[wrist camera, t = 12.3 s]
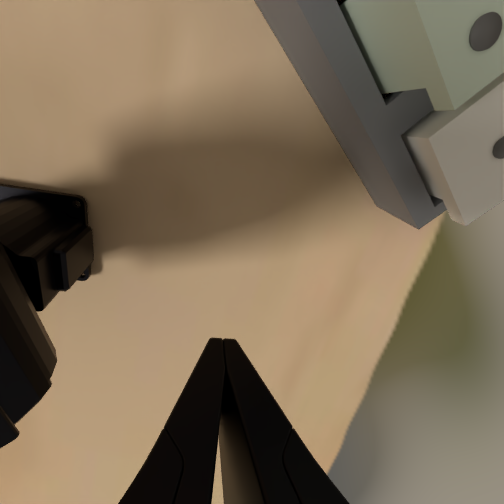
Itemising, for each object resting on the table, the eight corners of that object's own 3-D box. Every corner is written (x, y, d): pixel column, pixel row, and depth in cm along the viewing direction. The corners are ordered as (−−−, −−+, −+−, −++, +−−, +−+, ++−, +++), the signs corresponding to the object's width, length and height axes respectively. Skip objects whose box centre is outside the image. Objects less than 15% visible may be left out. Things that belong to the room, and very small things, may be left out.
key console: (376, 206, 22) (418, 229, 17) (189, -108, 13) (178, -222, 9) (470, 136, 20) (542, 142, 16) (327, -269, 12) (397, -504, 7)
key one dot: (390, 193, 21) (467, 227, 15) (356, 130, 19) (430, 138, 12) (458, 142, 20) (573, 155, 14) (430, 70, 18) (553, 44, 11)
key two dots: (361, 112, 16) (456, 110, 10) (310, 14, 14) (392, -70, 8) (448, 40, 15) (617, -14, 9) (408, -79, 13) (600, -269, 6)
